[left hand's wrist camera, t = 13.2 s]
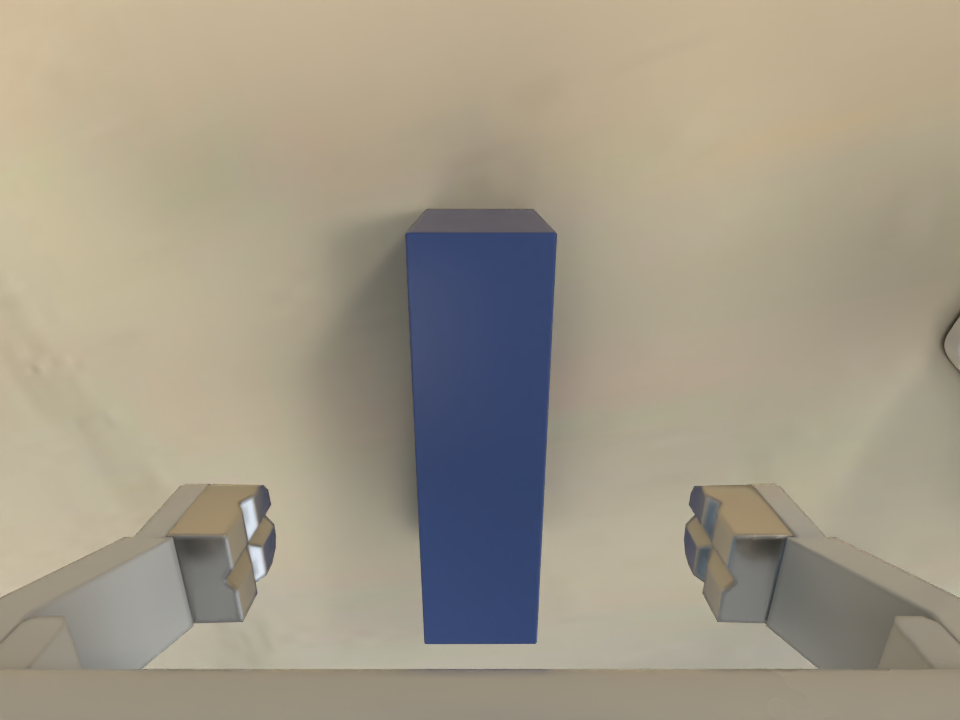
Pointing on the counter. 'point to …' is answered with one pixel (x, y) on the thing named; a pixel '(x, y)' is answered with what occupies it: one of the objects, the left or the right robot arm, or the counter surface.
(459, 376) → the box
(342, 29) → the counter surface
